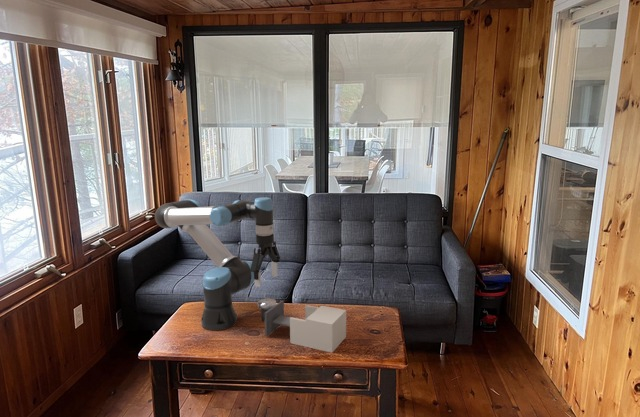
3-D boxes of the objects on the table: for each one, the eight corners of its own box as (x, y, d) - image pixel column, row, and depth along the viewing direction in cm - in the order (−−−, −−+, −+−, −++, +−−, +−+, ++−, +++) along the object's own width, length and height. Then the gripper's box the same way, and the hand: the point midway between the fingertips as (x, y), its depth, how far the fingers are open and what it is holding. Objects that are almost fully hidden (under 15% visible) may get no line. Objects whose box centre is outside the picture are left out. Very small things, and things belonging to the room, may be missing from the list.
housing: (290, 343, 173) (289, 315, 171) (306, 328, 185) (306, 302, 183) (332, 352, 165) (332, 324, 163) (346, 336, 178) (346, 310, 175)
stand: (258, 320, 193) (258, 307, 192) (265, 315, 198) (265, 302, 197) (269, 322, 191) (269, 309, 190) (276, 317, 196) (275, 304, 195)
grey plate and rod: (264, 335, 178) (263, 312, 176) (281, 321, 190) (281, 300, 188) (303, 344, 170) (303, 320, 168) (318, 329, 183) (318, 307, 181)
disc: (254, 307, 192) (254, 303, 191) (264, 301, 199) (264, 297, 198) (270, 311, 188) (269, 306, 188) (279, 304, 195) (279, 299, 195)
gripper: (255, 241, 175) (257, 292, 179) (287, 228, 197) (288, 273, 201) (240, 239, 178) (242, 289, 182) (272, 226, 200) (274, 271, 204)
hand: (266, 281), depth 191 cm, fingers open, 13 cm apart
